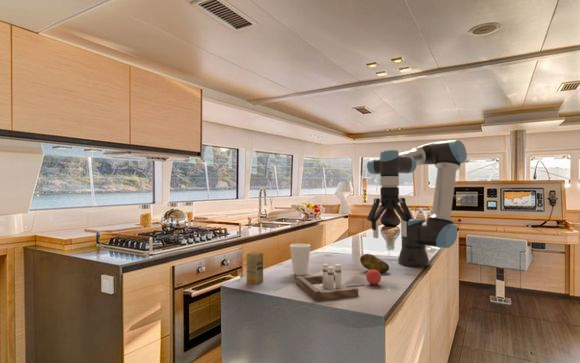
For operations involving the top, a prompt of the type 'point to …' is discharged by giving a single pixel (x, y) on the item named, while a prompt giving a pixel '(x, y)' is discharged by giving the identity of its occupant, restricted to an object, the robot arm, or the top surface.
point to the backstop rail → (320, 295)
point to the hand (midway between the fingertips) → (390, 237)
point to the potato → (374, 263)
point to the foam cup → (300, 258)
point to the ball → (373, 277)
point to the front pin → (338, 276)
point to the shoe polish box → (254, 268)
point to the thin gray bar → (356, 285)
